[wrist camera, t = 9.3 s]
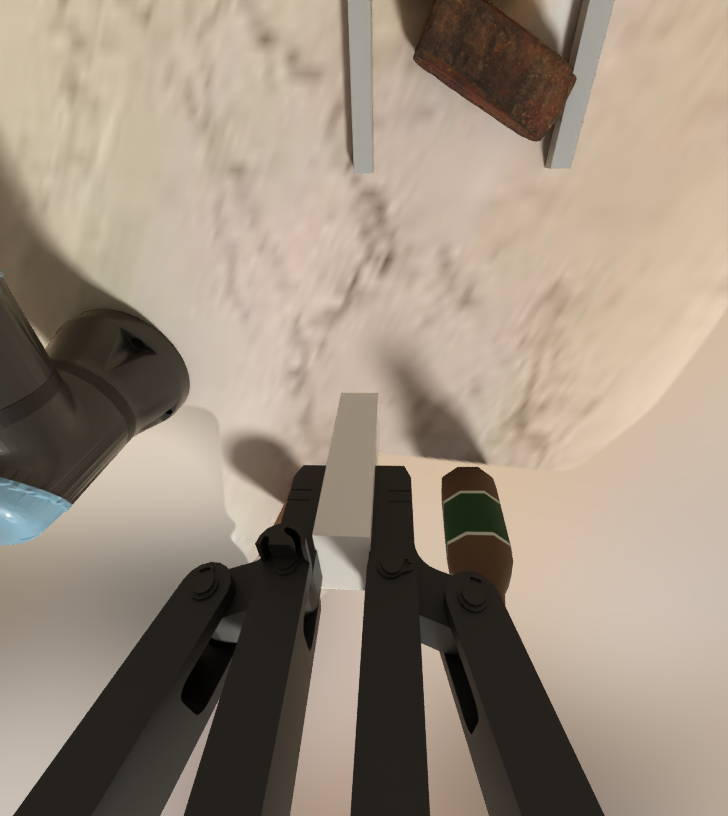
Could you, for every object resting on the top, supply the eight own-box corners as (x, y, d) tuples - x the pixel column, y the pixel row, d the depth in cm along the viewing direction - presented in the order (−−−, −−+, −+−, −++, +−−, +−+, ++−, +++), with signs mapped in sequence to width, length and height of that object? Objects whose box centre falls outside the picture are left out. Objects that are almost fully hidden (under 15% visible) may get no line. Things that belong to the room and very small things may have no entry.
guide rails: (356, 172, 31) (353, 173, 30) (350, 0, 25) (347, -7, 24) (564, 167, 29) (570, 168, 28) (610, -19, 23) (621, -27, 22)
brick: (411, 65, 27) (412, 53, 23) (441, -7, 25) (447, -33, 21) (527, 143, 29) (544, 144, 25) (564, 83, 27) (590, 74, 23)
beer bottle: (452, 458, 50) (479, 659, 30) (504, 473, 50) (563, 678, 31) (430, 492, 54) (442, 686, 35) (478, 506, 55) (516, 703, 36)
